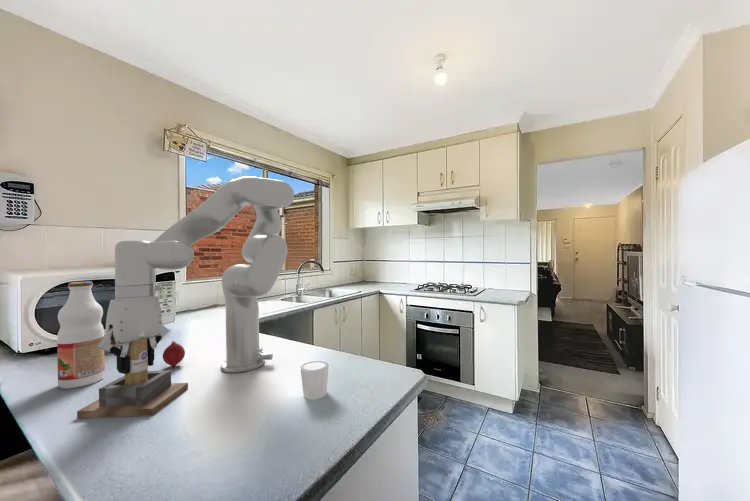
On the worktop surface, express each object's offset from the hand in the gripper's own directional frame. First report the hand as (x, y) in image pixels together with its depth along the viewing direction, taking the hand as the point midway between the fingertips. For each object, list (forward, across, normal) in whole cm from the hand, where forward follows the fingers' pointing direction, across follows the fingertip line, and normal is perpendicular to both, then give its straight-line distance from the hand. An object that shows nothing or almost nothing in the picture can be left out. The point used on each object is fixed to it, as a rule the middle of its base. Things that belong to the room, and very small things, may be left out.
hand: (136, 368), depth 72 cm
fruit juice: (+8, -2, -28) cm, 29 cm away
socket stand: (+8, 0, 0) cm, 8 cm away
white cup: (+8, -18, +38) cm, 43 cm away
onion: (+8, -19, -15) cm, 25 cm away
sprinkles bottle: (+4, 0, 0) cm, 4 cm away
